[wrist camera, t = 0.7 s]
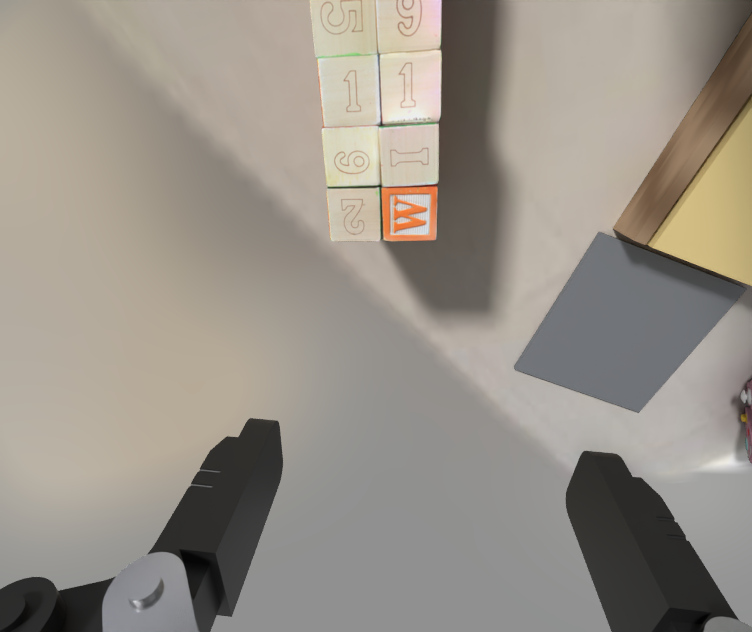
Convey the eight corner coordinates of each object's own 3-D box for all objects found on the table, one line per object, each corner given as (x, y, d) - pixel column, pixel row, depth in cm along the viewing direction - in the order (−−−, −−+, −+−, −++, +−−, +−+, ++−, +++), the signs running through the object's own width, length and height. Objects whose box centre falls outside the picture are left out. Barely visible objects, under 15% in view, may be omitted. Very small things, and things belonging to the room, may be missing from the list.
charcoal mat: (599, 231, 33) (601, 232, 33) (743, 287, 34) (746, 288, 34) (513, 367, 40) (514, 369, 40) (636, 409, 41) (638, 412, 41)
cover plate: (746, 76, 27) (776, 73, 25) (857, 124, 28) (897, 125, 25) (635, 238, 32) (652, 247, 30) (731, 275, 33) (754, 287, 31)
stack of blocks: (336, -152, 24) (273, -369, 13) (438, -162, 24) (460, -397, 13) (355, 202, 34) (328, 244, 23) (429, 201, 33) (436, 243, 23)
